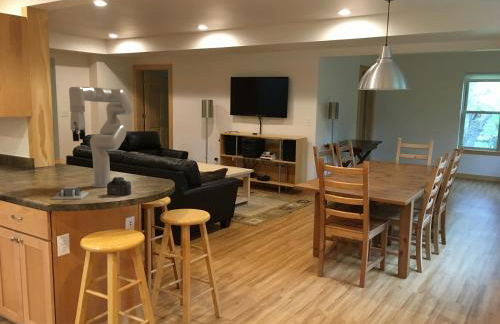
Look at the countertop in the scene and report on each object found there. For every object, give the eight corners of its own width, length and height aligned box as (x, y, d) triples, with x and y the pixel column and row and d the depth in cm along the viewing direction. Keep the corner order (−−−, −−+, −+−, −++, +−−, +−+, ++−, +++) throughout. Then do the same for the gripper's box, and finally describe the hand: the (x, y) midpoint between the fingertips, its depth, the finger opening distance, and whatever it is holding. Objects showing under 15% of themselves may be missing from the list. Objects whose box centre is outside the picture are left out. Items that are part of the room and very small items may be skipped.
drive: (63, 193, 230) (63, 186, 229) (80, 193, 231) (79, 186, 230) (60, 196, 225) (59, 188, 225) (77, 195, 226) (76, 188, 225)
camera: (133, 191, 241) (132, 175, 239) (130, 195, 231) (129, 178, 229) (109, 192, 239) (108, 175, 238) (105, 196, 229) (104, 178, 228)
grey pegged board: (61, 194, 234) (61, 186, 233) (88, 193, 235) (88, 186, 234) (52, 199, 222) (51, 191, 222) (80, 199, 223) (80, 190, 222)
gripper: (76, 109, 238) (78, 138, 240) (64, 110, 220) (66, 142, 223) (89, 109, 238) (91, 138, 241) (78, 110, 221) (80, 142, 223)
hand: (79, 140), depth 232 cm, fingers open, 9 cm apart
